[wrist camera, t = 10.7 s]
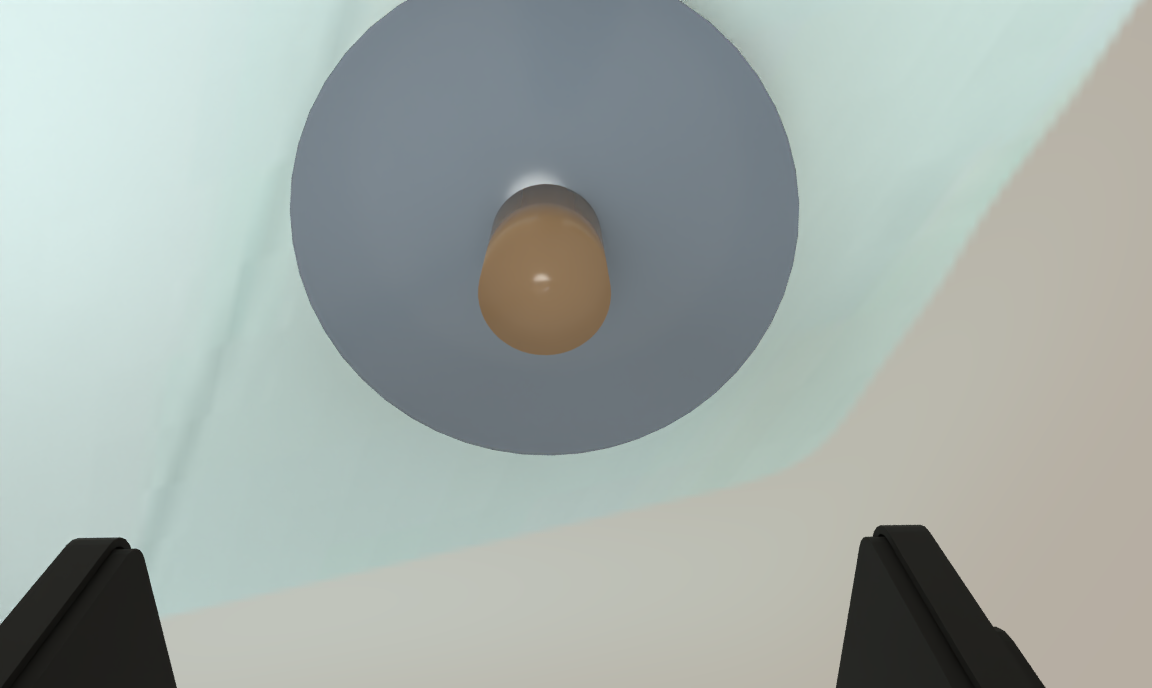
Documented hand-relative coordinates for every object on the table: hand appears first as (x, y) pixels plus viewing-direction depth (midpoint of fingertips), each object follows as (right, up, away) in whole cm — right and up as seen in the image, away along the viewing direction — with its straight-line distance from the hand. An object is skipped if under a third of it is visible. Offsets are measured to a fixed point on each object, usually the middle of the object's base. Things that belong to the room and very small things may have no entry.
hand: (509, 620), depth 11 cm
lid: (0, +7, +17) cm, 19 cm away
